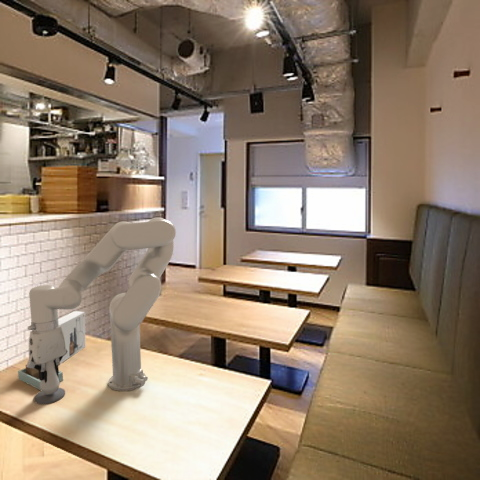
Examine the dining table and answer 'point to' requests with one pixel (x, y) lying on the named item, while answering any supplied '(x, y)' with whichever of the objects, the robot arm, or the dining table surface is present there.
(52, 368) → the salt shaker
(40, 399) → the coaster
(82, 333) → the skincare box
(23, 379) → the tray
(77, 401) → the dining table surface
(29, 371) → the walnut block
